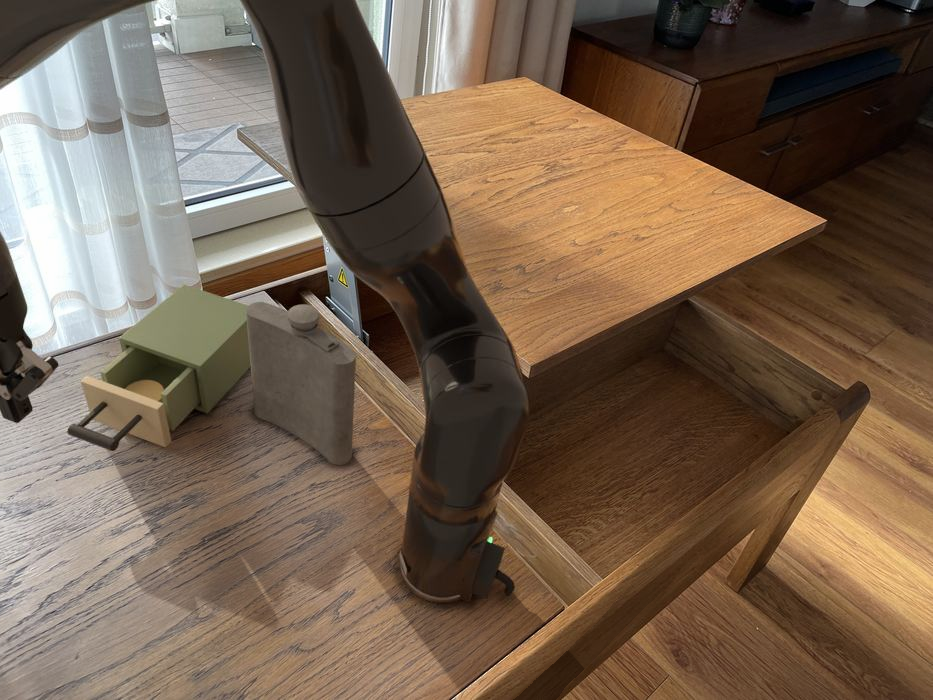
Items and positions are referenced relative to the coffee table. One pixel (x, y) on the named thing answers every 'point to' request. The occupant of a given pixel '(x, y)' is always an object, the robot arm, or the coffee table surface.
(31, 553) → the coffee table surface
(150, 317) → the cabinet
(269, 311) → the hip flask
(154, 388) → the tan short cylinder
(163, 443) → the drawer
